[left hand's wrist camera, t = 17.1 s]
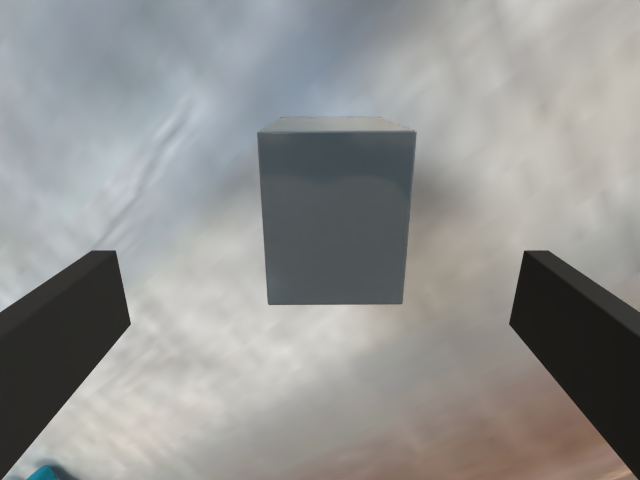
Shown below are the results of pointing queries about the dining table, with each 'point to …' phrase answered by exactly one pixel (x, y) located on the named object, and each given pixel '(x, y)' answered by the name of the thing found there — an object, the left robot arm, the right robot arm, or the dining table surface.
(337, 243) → the block
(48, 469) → the toy
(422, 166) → the dining table surface
